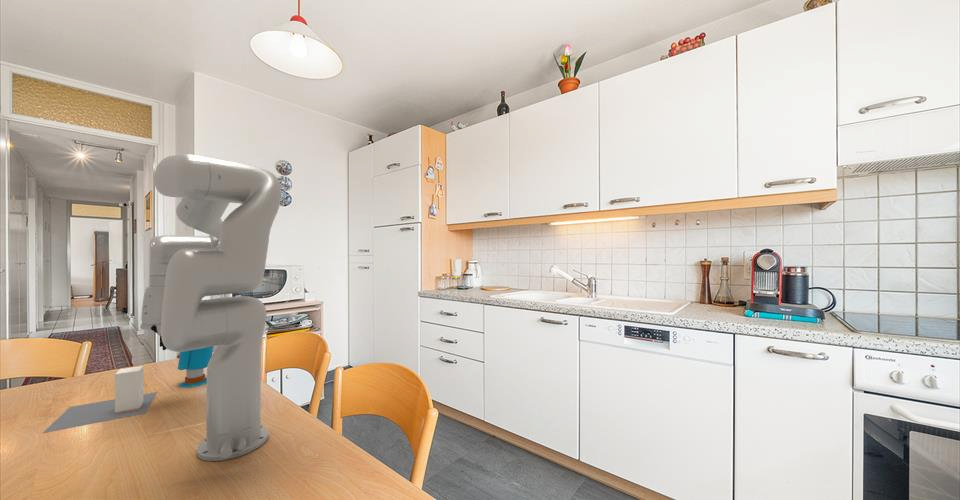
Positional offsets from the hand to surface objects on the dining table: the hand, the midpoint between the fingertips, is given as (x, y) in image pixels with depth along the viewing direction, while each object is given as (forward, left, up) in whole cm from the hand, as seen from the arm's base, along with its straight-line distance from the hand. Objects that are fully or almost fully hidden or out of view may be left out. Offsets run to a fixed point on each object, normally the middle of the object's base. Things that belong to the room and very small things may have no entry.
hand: (167, 348), depth 96 cm
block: (-1, +7, -14) cm, 16 cm away
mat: (+1, +12, -15) cm, 19 cm away
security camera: (+12, -5, -15) cm, 20 cm away
